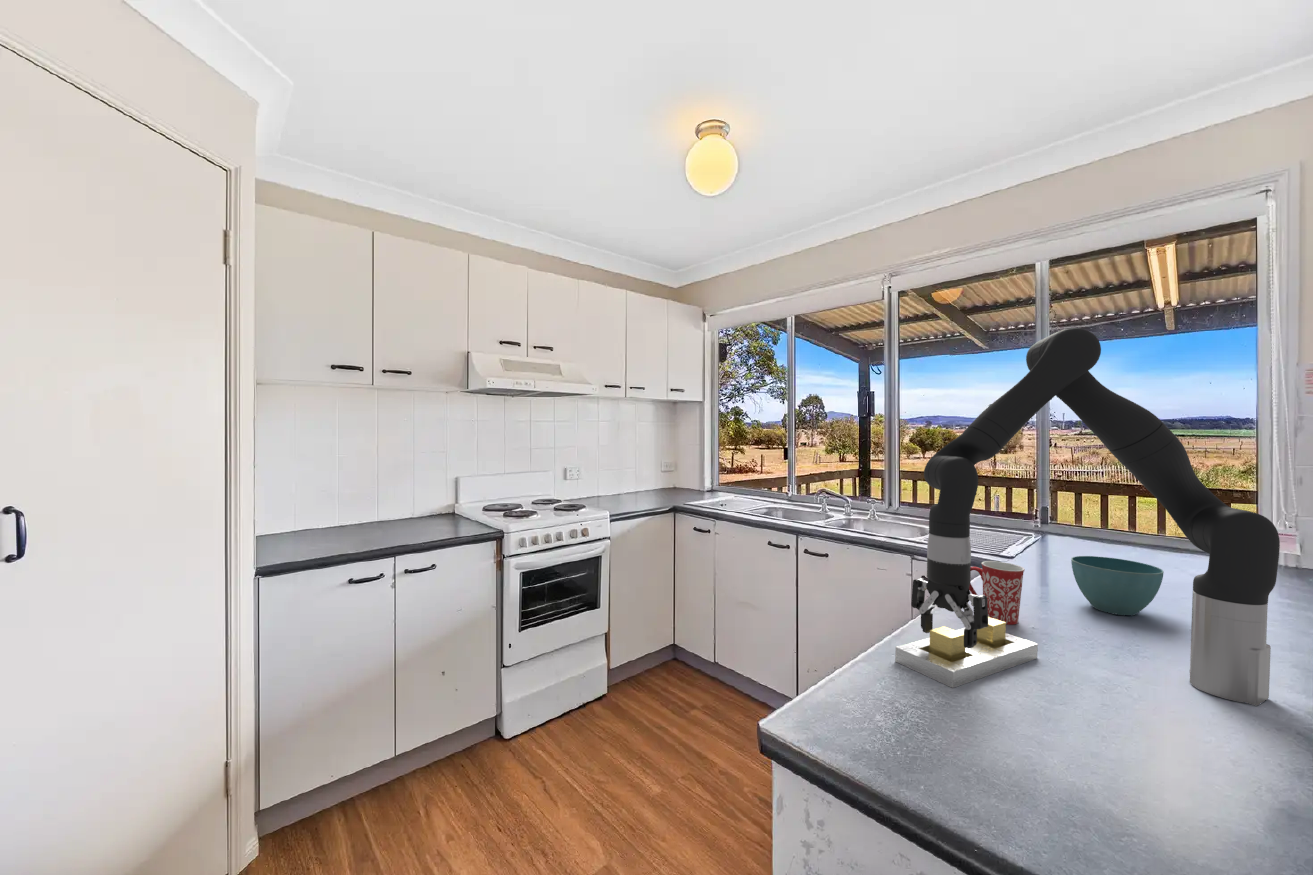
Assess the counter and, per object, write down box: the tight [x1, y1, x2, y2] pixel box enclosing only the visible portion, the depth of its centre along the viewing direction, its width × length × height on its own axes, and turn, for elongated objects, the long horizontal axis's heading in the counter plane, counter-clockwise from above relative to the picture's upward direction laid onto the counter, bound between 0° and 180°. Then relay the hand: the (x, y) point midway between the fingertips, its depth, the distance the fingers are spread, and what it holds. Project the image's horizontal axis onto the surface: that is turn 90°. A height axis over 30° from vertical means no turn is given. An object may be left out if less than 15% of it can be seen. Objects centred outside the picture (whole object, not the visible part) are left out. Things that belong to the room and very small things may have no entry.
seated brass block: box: [977, 617, 1007, 649], centre depth 111 cm, size 4×4×7 cm
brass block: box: [929, 625, 966, 662], centre depth 104 cm, size 4×4×7 cm
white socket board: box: [894, 627, 1039, 689], centre depth 107 cm, size 28×12×3 cm, turn 118°
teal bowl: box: [1070, 555, 1165, 616], centre depth 138 cm, size 18×18×12 cm
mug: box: [969, 560, 1025, 626], centre depth 132 cm, size 13×9×14 cm
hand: (947, 639), depth 104 cm, fingers open, 8 cm apart
